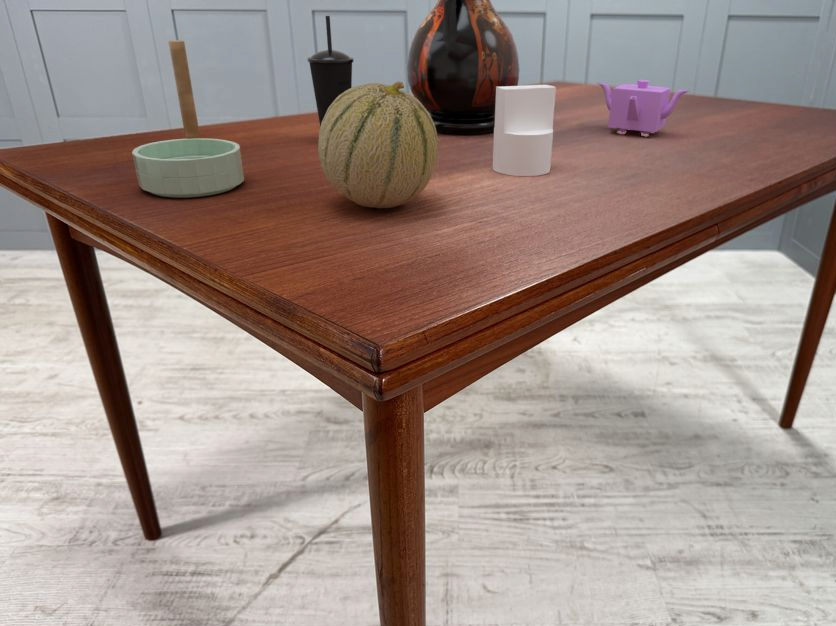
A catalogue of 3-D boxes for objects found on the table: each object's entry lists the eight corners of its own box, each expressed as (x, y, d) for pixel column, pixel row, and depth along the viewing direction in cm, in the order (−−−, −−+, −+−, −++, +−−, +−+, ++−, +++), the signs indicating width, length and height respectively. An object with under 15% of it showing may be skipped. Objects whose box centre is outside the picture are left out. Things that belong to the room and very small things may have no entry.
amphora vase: (428, 115, 144) (427, -34, 130) (525, 122, 139) (535, -32, 126) (391, 133, 126) (386, -38, 112) (502, 142, 121) (511, -36, 107)
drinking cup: (336, 135, 123) (328, 14, 114) (366, 141, 119) (360, 16, 110) (305, 141, 118) (293, 15, 108) (336, 148, 114) (327, 17, 104)
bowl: (135, 202, 84) (126, 162, 82) (145, 176, 95) (138, 140, 93) (246, 195, 88) (240, 157, 85) (243, 171, 99) (238, 136, 96)
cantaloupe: (329, 189, 91) (319, 71, 84) (436, 189, 92) (436, 73, 85) (315, 223, 78) (303, 88, 71) (440, 223, 79) (440, 89, 72)
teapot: (580, 133, 130) (586, 80, 125) (600, 123, 140) (606, 73, 135) (674, 144, 123) (683, 88, 118) (687, 133, 133) (697, 80, 128)
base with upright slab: (509, 178, 99) (514, 92, 93) (482, 164, 106) (485, 84, 100) (561, 173, 102) (568, 90, 96) (531, 160, 109) (536, 82, 103)
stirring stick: (185, 144, 114) (167, 41, 106) (186, 141, 116) (168, 40, 108) (200, 143, 115) (183, 41, 107) (201, 140, 117) (184, 40, 109)
